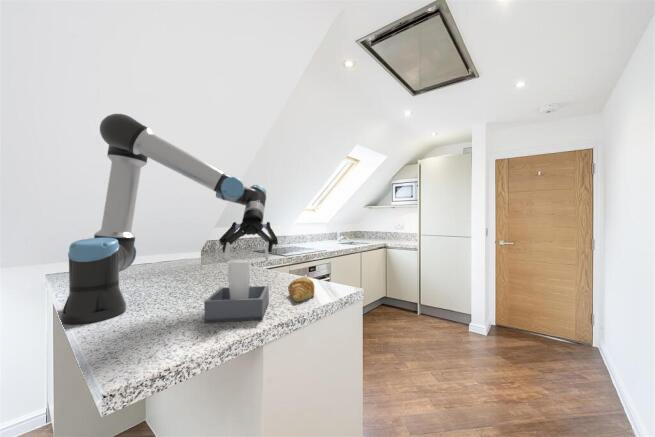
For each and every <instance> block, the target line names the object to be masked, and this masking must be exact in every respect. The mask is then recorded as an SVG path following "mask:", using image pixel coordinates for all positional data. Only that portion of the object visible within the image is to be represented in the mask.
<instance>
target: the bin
mask: <svg viewBox="0 0 655 437" xmlns="http://www.w3.org/2000/svg"><path fill="white" fill-rule="evenodd" d="M269 287H270V286H269V285H253V286H250V285H249V299H230V292H229V286H225V287H224V286H223V287H220V288H218V289H217V290H216V291H214V293H212V294H211V295H210V296H209V297H208V298H207V299H206V300H204V301H203V304H204V309H203V311H204V314H203V315H204V323H205V324H207V323H208V324H209V323H228V322H246V321H247V322H248V321H249V322H251V321H253V322H254V321H264V317H265V314H266V312H267V309H268V307H269V303H270V298H269V296H270V291H269V290H270V289H269Z"/></svg>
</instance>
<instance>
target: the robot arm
mask: <svg viewBox="0 0 655 437" xmlns="http://www.w3.org/2000/svg"><path fill="white" fill-rule="evenodd" d="M99 133H100V136H101V138H102V139H103V140H104V142H105V143H106V144H107V145H108V148H107V154H106V155H107V158H108V159H109V160H110V161H111V166H110V172H109V178H108V183H107V185H108V186H107V189H106V190H107V191H106V196H105V203H104V208H103V209H104V210H103V214H102V215H103V216H102V222H101V229H99V230H98V231H96V232H95V233H94V235H93V238H92V237H91V238H87V239H86V238H85V239H79V240H76V241H73V242H71V244H70V245H69V249H68V254H67V255H68V256H67V257H68V284H69V292H68V296H67V299H66V301H65V303H64V305H63V308H62V311H61V313H60V314H61V315H60V321H61V323H62V324H64V325H65V324H66V325H77V324H79V325H81V324H89V323H94V322H95V323H96V322H99V321H102V320H103V321H104V320H107V319H111V318H114V317H116V316H119V315H122V314H123V313H125V312H126V310H127V304H126V303H127V302H126V300H125V299H124V296H123V293H122V291H121V289H120V276H119V275H120V272H122V271H125V270H126V269H127V268H129V267H131V265H132V264H133V263H134V261H135V260H136V258H137V248H136V247H135V242H136V235H135V234H134V233H133V232H132V227H133V221H134V216H135V215H134V214H135V210H136V204H137V203H136V202H137V195H138V190H139V185H140V184H139V183H140V177H141V170H142V167H144V166H146V165H147V164H148V158H149V159H150V160H152V161H154V162H156V163H158V164H160V165H162V166H164V167H166V168H168V169H170V170H172V171H173V172H176V173H178V174H179V175H182V176H184V177H186V178H187V179H190V180H192V181H194V182H195V183H197V184H199V185H202V186H203V187H206V188H207V189H209V190H211V191H213V192H215V197H216V198H217V199H220V200H222V201H227V202H232V203H235V204H239V205H242V206H245V207H244V212H243V217H242V221H241V222H240V223H237V222H236V221H234V222H233V223H232V224H231V226H230V227H229V228H228V229H227V231H226V232H225V233H224V234H223V235H222V236H221V237H220V238H219V239H218V241H219V243H220V245H221V246H222V251H223V261H224V263H228V261H229V260H228V259H229V256H230V252H231V245H232V244H233V243H235V242H236V241H237V240H239V239H240V238H241V237H244V236H246V235H247V236H248V235H250V236H251V235H253V236H254V235H255V236H256V235H258V237H261V238H262V240H263V241H265V252H264V260H265V261H264V262H268V261H269V254H270V253H272V252H273V246H274V245H276V246H277V245H278V244H279V242H278V241H279V239H278V237H277V236H276V234H275V232H274V231H273V229H272V228H271V222H270V221H267V222H266V223H264V213H265V207H266V201H267V190H266V189H265V187H264V186H262V185H261V184H253V185H252V186H249V187H247V186H245V185H244V183H243V182H242V180H241V179H239V178H238V177H235V176H231V175H229V174H227V173H225V172H224V171H222V170H220V169H218V168H216V167H214V166H213V165H211V164H210V163H208V162H205V161H203V160H202V159H200V158H198V157H196V156H194V155H192V154H190V153H189V152H187V151H185V150H183V149H181V148H179V147H178V146H176V145H175V144H172V143H170V142H168V141H167V140H165V139H163V138H161V137H159V136H157V135H155V134H154V133H153V131H152V129H151V128H149V127H147V126H146V125H143V124H142V123H141V122H139V121H137V120H136V119H134V118H133V117H131V116H129V115H126V114H123V113H112V114H109V115H107V116H105V117H104V118H103V119H102V120H101V122H100V124H99ZM263 229H265V231H267V233H268V234H269V235H268V234H267V233H265V231H263Z"/></svg>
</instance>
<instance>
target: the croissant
mask: <svg viewBox="0 0 655 437" xmlns="http://www.w3.org/2000/svg"><path fill="white" fill-rule="evenodd" d="M287 290H288V291H287V292H288V294H289V296H291V299H292V300H293V301H294V302H302V301H304V300H307V299H310V298H312V297H314V295H315V284H314V281H313V280H312V279H310V278H308V277H307V276H305V277H304V276H302V277H298V278H295V279H293V280H292V281H291V282H290V284H288V287H287Z"/></svg>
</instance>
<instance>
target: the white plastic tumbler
mask: <svg viewBox="0 0 655 437" xmlns="http://www.w3.org/2000/svg"><path fill="white" fill-rule="evenodd" d="M227 280H228V287H229V292H230V299H249V286H250V282H251V260H250V259H245V258H244V259H242V258H241V259H232V260H228V261H227Z"/></svg>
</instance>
